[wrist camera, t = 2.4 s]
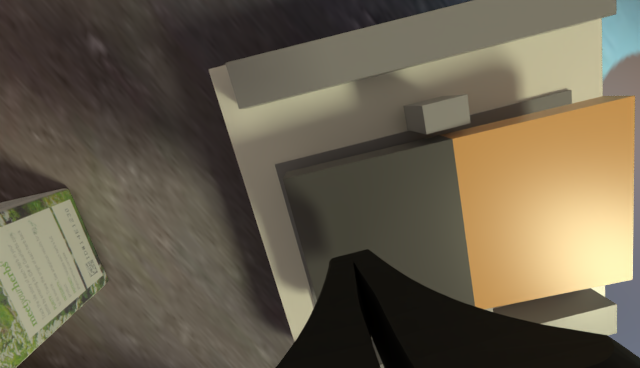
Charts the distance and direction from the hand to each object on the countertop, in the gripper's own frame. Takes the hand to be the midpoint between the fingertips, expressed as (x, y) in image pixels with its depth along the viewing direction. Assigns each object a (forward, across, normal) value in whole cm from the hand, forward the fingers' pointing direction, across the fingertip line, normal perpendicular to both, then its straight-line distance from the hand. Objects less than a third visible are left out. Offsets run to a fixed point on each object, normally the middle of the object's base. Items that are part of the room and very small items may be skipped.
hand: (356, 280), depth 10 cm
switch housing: (+7, -4, 0) cm, 9 cm away
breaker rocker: (+3, -4, 0) cm, 5 cm away
